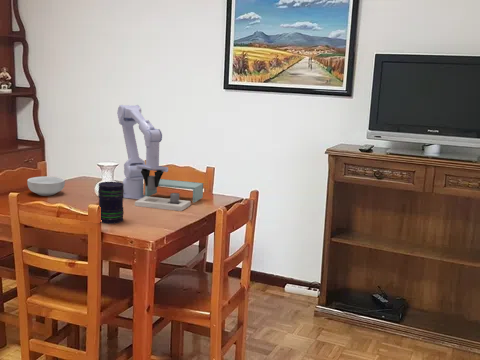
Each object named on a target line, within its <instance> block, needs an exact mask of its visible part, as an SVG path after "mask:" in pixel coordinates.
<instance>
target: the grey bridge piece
mask: <svg viewBox="0 0 480 360" xmlns="http://www.w3.org/2000/svg"><path fill="white" fill-rule="evenodd" d="M144 186H145V187H144V195H145V196H148V197H152V196H153V195H155V194H158V187H162V188H163V187H165V188H173V189H182V190H183V189H184V190H192V203H196V202H198V201H200V200H201V199H203V198H204V197H203V196H204V182H194V181H184V180H176V179H164V178H161V179H160V181H159V185H158V187H156V190H147V186H146V185H145V184H144Z"/></svg>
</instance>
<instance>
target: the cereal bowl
mask: <svg viewBox="0 0 480 360" xmlns="http://www.w3.org/2000/svg"><path fill="white" fill-rule="evenodd" d="M65 184H66V180H65V178H64V177H61V176H50V175H48V176H45V175H44V176H35V177H34V176H33V177H30V178H28V179H27V187H28V189H29V190H30V191H31V192H32V193H35V194H37V195H38V196H45V197H47V196H49V197H50V196H54V195H56V194H57V193H59V192H61V191H62V190H63V189H64V188H65V186H66V185H65Z"/></svg>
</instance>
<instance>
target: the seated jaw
mask: <svg viewBox="0 0 480 360" xmlns="http://www.w3.org/2000/svg"><path fill="white" fill-rule="evenodd" d="M169 199H170V204H179V200H180V193H178V192H172V193H171V192H170V197H169Z"/></svg>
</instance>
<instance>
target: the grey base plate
mask: <svg viewBox="0 0 480 360" xmlns="http://www.w3.org/2000/svg"><path fill="white" fill-rule="evenodd" d="M190 206H191V200H184V199H183V200H182V199H179V204H170V198H165V197H164V198H163V197H157V196H156V197H155V196H149V197H148V196H145V197H143V198H141V199H136V201H134V207H139V208H141V207H142V208H150V209H160V210H168V211H169V210H170V211H178V212H183V211H184V210H185V209H187V208H189V207H190Z"/></svg>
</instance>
